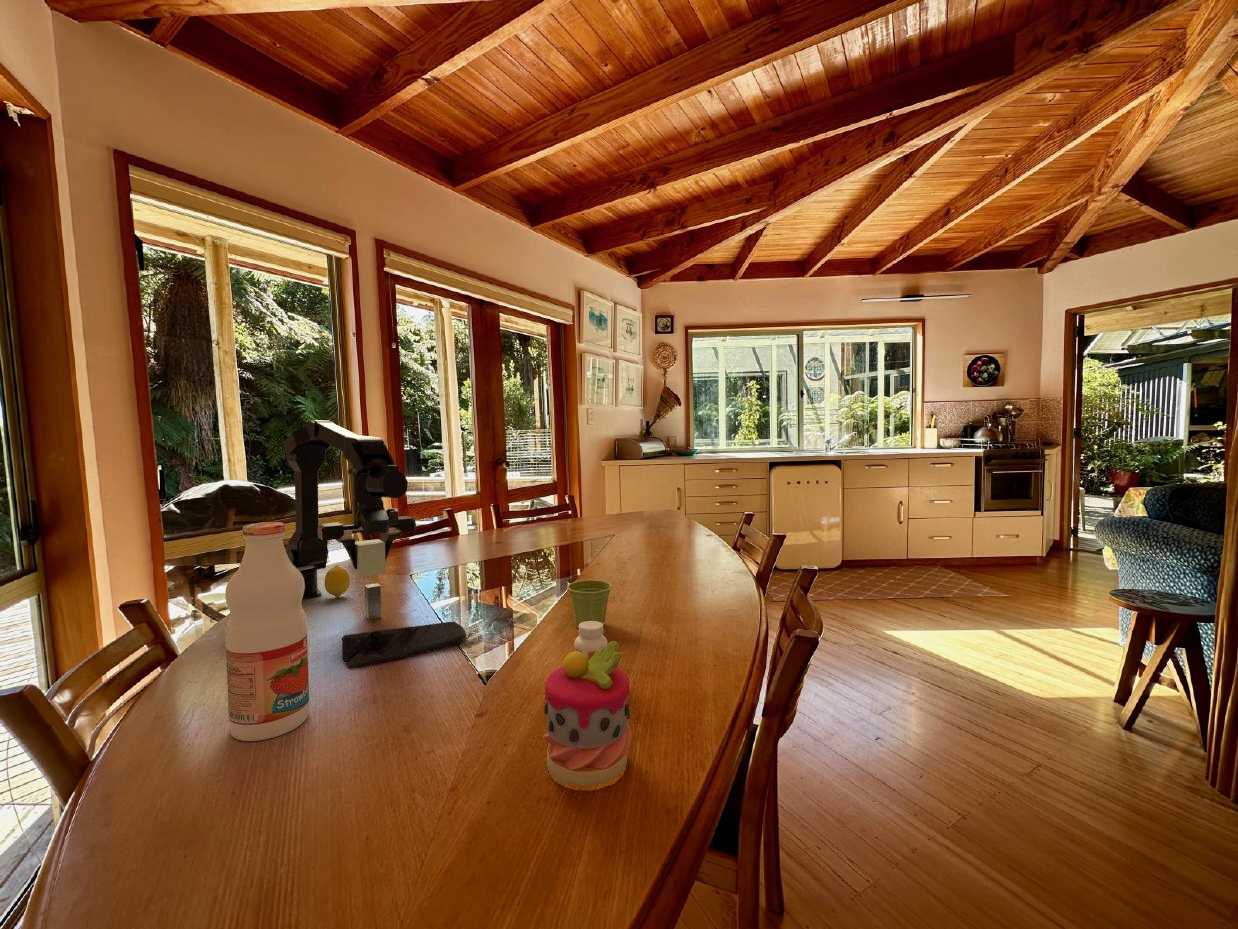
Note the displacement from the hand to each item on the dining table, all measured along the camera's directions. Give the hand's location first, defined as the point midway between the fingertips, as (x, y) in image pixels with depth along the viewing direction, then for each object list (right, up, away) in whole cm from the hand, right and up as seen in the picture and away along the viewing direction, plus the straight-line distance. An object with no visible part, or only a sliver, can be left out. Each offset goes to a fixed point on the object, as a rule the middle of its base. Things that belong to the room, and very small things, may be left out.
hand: (369, 566), depth 117 cm
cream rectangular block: (0, -1, 0) cm, 1 cm away
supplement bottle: (+50, -14, -30) cm, 59 cm away
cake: (+50, -15, -51) cm, 73 cm away
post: (0, -11, +1) cm, 11 cm away
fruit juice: (+6, -14, -42) cm, 45 cm away
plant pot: (+48, -12, -4) cm, 50 cm away
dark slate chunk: (+13, -13, -14) cm, 23 cm away
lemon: (-15, -11, +15) cm, 23 cm away
